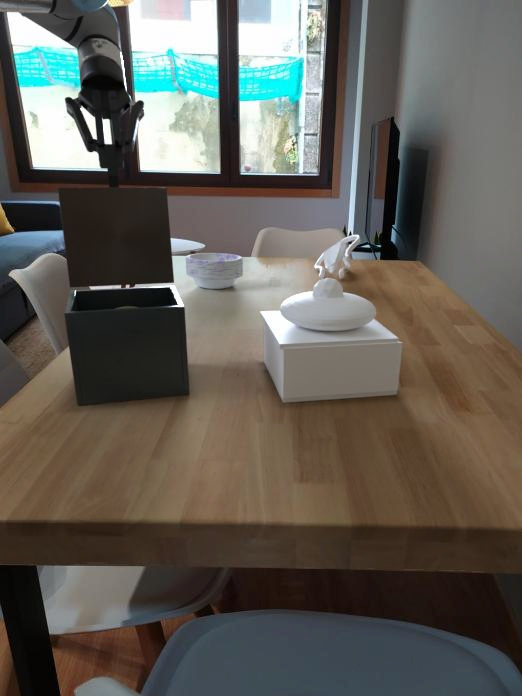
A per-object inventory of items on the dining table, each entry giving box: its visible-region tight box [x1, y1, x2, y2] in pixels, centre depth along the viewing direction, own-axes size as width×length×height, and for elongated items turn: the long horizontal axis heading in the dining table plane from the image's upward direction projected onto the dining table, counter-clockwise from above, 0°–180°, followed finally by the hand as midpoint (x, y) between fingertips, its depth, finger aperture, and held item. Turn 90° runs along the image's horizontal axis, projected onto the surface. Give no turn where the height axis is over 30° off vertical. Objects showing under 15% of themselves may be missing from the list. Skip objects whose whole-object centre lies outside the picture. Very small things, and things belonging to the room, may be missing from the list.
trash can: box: [63, 285, 190, 406], centre depth 81 cm, size 14×16×13 cm
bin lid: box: [57, 186, 175, 288], centre depth 83 cm, size 14×16×1 cm
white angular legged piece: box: [314, 234, 361, 280], centre depth 163 cm, size 17×9×22 cm
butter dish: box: [259, 277, 403, 404], centre depth 84 cm, size 18×18×16 cm
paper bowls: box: [185, 252, 244, 290], centre depth 146 cm, size 15×15×8 cm
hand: (113, 181), depth 86 cm, fingers closed
